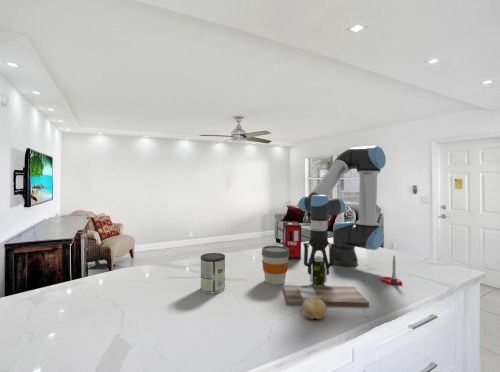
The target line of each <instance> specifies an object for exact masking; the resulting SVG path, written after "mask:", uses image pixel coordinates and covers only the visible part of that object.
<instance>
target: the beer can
mask: <svg viewBox="0 0 500 372" xmlns="http://www.w3.org/2000/svg"><path fill="white" fill-rule="evenodd" d="M312 267H313V283H311V284H312V286H325V282H324V273H325V267H326V266H325V260H324V257H323V256H319V255H315V256H314V259H313V263H312Z"/></svg>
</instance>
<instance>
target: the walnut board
mask: <svg viewBox="0 0 500 372" xmlns="http://www.w3.org/2000/svg"><path fill="white" fill-rule="evenodd" d="M282 285H283V292H284V296H285V300H286V305H287V306H302V304H303V302H304V301H305V300H306V299H307V298H310V297H317V294H318V297H321V300H322V301H323V302H324V303H325V305H326V307H327V306H329V307H330V306H331V307H370V302H369V301H368V300H367V299H366V298H365V297H364V296H363V294H362V293H361V291H359V290H358V289H357V288H356V286H345V285H344V286H342V285H341V286H340V285H335V286H334V285H323V286H315V285H305V284H304V285H303V284H302V285H300V284H297V285H295V284H294V285H293V284H292V285H291V284H288V285H286V284H285V285H284V284H282Z"/></svg>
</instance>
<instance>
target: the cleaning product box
mask: <svg viewBox="0 0 500 372" xmlns="http://www.w3.org/2000/svg"><path fill="white" fill-rule="evenodd" d="M282 223H283V224H282V246H283V247H287V248H288V249H289V256H288V260H297V261H298V260H302V225H301V224H300V223H299V222H298V221H285V220H284V221H282Z"/></svg>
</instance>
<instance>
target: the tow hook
mask: <svg viewBox="0 0 500 372" xmlns="http://www.w3.org/2000/svg"><path fill="white" fill-rule="evenodd" d="M396 263H397V261H396V255H393V257H392V273H391V276H382V277H380V280H381V281H382V282H384V283H385V284H386V285H394V286H396V285H399V286H402V285H403V281H402V280H401V279H400V278H398V277H397V272H396V266H397V264H396Z"/></svg>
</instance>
